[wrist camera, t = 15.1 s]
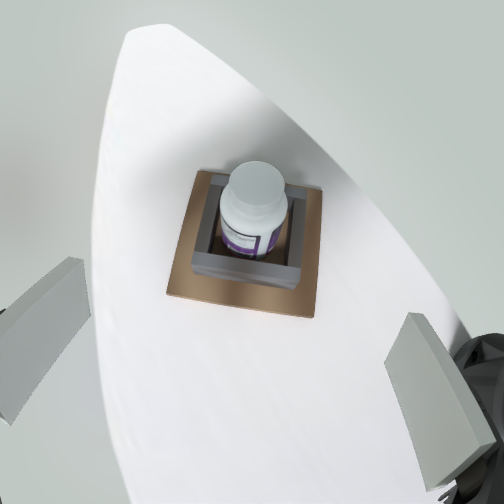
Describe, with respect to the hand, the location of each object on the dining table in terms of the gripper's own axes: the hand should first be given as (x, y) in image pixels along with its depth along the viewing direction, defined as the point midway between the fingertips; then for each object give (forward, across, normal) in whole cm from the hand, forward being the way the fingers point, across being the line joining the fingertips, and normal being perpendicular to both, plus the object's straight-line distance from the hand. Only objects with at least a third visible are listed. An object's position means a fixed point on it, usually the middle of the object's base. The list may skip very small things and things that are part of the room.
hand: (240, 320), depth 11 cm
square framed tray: (+20, 0, -4) cm, 20 cm away
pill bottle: (+19, 0, -4) cm, 20 cm away
